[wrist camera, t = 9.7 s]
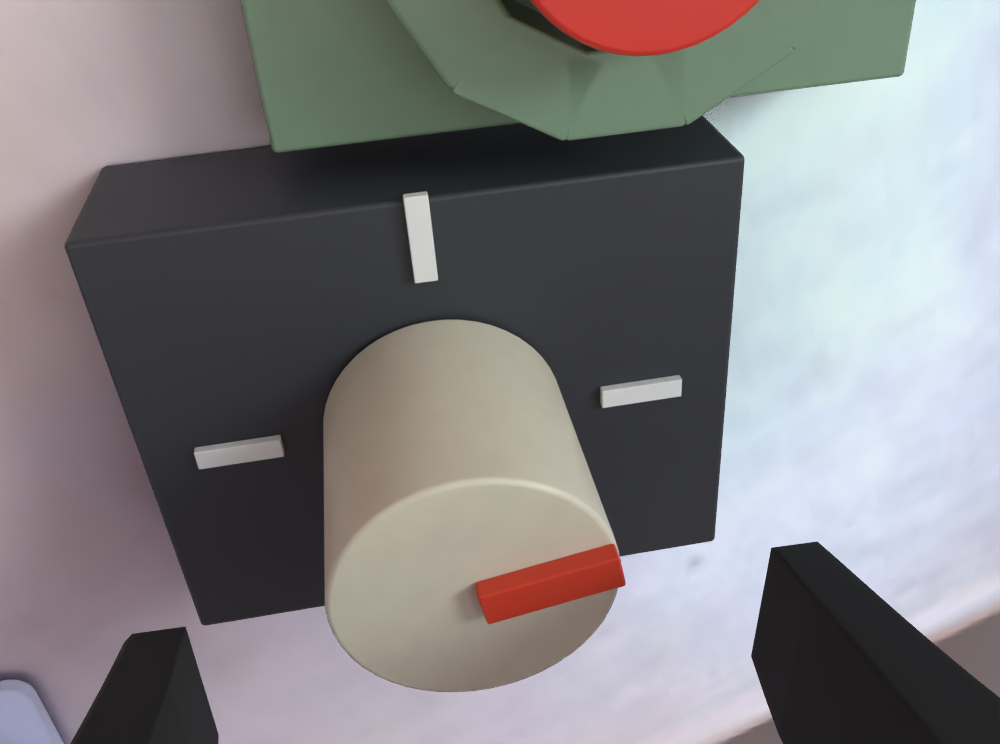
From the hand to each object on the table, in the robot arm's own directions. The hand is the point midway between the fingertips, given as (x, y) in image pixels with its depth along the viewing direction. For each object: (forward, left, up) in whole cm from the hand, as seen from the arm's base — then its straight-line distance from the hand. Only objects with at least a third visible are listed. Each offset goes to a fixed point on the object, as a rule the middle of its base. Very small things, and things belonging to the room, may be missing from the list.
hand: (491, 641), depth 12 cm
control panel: (0, 0, -8) cm, 8 cm away
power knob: (0, 0, -5) cm, 5 cm away
